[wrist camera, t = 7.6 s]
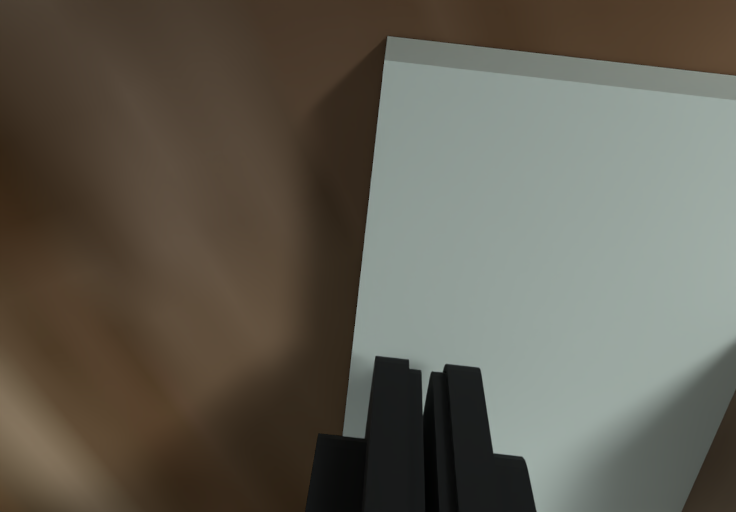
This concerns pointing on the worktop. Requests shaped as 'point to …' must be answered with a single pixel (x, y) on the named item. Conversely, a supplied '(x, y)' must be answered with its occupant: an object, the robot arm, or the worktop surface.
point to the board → (558, 260)
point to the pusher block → (717, 470)
